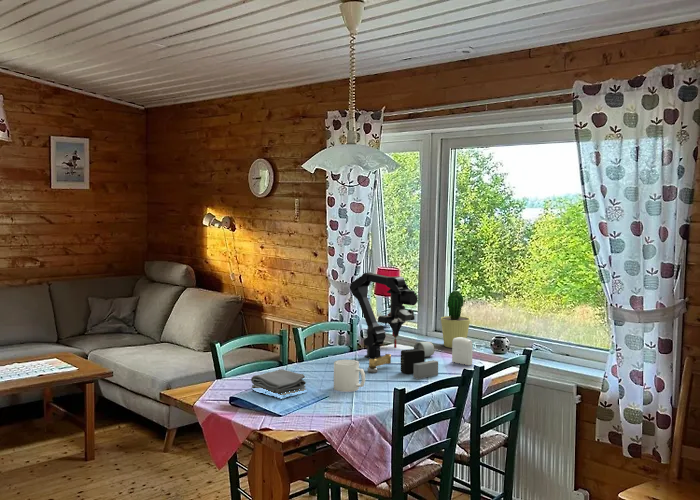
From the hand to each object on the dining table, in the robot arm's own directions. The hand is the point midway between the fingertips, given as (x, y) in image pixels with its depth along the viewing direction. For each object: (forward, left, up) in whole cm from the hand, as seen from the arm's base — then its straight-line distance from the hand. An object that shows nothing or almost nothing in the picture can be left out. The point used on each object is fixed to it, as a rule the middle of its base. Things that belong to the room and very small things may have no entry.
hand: (396, 336), depth 323 cm
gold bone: (+7, -15, -11) cm, 20 cm away
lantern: (-25, +22, -13) cm, 36 cm away
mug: (+24, -47, -13) cm, 54 cm away
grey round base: (+8, -21, -12) cm, 26 cm away
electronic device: (+19, -7, -13) cm, 24 cm away
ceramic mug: (-2, +19, -13) cm, 23 cm away
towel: (+12, -72, -13) cm, 74 cm away
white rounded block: (+20, +24, -13) cm, 34 cm away
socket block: (+27, -7, -12) cm, 31 cm away
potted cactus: (-10, +51, -13) cm, 54 cm away
